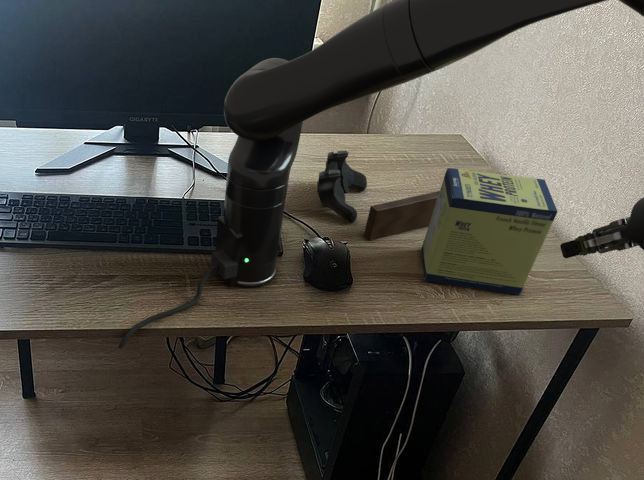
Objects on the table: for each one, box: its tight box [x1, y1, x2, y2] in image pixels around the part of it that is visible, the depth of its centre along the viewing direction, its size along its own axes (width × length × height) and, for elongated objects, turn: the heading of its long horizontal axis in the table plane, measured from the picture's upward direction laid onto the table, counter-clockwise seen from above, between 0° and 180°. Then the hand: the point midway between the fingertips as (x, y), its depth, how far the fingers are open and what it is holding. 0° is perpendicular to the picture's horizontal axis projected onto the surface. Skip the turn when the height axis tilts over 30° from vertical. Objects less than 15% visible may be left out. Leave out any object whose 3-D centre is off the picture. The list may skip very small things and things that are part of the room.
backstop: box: [363, 190, 440, 241], centre depth 125 cm, size 20×2×6 cm, turn 115°
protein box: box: [420, 167, 558, 296], centre depth 112 cm, size 10×16×16 cm
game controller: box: [316, 150, 368, 224], centre depth 131 cm, size 16×7×10 cm, turn 161°
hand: (565, 250), depth 99 cm, fingers closed
